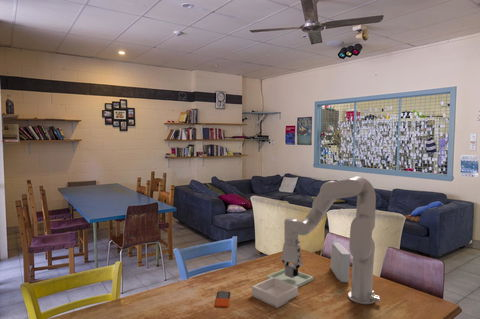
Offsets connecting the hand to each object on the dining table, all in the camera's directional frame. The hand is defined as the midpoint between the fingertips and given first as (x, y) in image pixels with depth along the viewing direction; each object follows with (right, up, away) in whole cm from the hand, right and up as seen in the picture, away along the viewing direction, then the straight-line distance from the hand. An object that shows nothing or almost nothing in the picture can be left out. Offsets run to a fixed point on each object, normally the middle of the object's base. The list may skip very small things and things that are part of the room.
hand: (291, 273), depth 180 cm
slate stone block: (0, -1, 0) cm, 1 cm away
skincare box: (+29, -4, +10) cm, 31 cm away
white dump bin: (-11, -5, -18) cm, 21 cm away
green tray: (-1, -4, +1) cm, 4 cm away
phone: (-36, -6, -21) cm, 43 cm away
